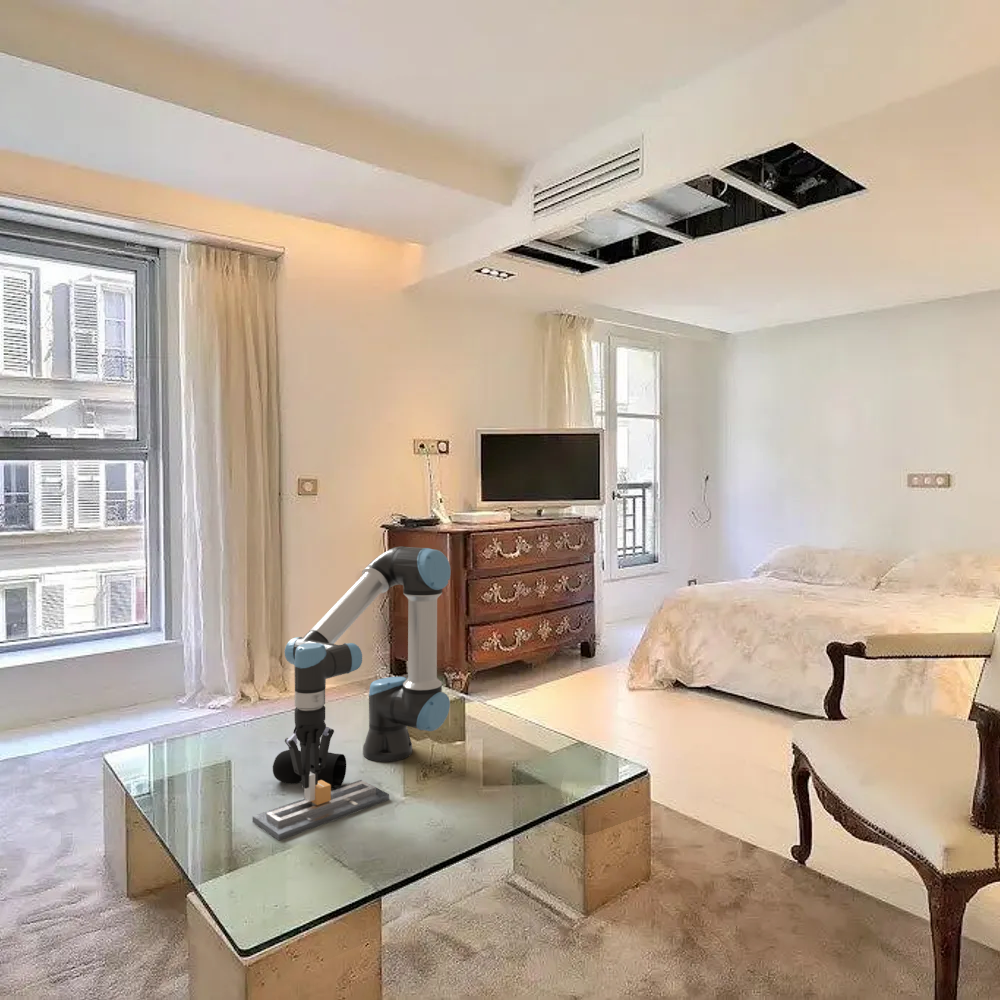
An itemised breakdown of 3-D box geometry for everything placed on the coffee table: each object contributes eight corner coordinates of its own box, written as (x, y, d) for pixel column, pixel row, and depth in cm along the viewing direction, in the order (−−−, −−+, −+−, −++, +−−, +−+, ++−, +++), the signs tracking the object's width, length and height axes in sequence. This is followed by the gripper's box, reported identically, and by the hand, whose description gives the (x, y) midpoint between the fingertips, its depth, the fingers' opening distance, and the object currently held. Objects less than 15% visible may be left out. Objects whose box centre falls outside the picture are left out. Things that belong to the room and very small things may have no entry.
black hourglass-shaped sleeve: (351, 756, 209) (287, 750, 213) (339, 751, 201) (272, 745, 205) (345, 791, 205) (279, 784, 209) (332, 787, 197) (264, 780, 201)
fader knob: (316, 810, 185) (317, 788, 185) (307, 804, 188) (307, 783, 188) (330, 805, 188) (330, 784, 187) (321, 799, 191) (321, 779, 190)
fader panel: (278, 840, 173) (278, 828, 173) (252, 822, 182) (252, 810, 182) (389, 799, 195) (389, 789, 195) (360, 785, 204) (360, 775, 204)
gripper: (294, 715, 178) (294, 811, 178) (340, 704, 187) (340, 795, 188) (278, 708, 183) (278, 802, 184) (324, 697, 192) (324, 786, 193)
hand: (309, 798), depth 186 cm, fingers closed
